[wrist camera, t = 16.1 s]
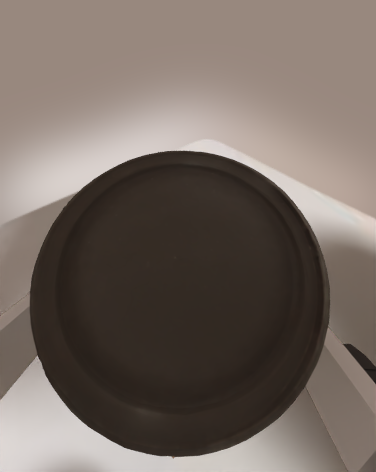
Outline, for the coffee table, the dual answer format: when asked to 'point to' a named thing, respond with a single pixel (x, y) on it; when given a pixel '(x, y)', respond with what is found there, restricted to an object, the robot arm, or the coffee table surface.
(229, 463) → the coffee table surface
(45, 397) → the coffee table surface
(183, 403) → the coffee can
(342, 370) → the robot arm
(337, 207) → the coffee table surface
